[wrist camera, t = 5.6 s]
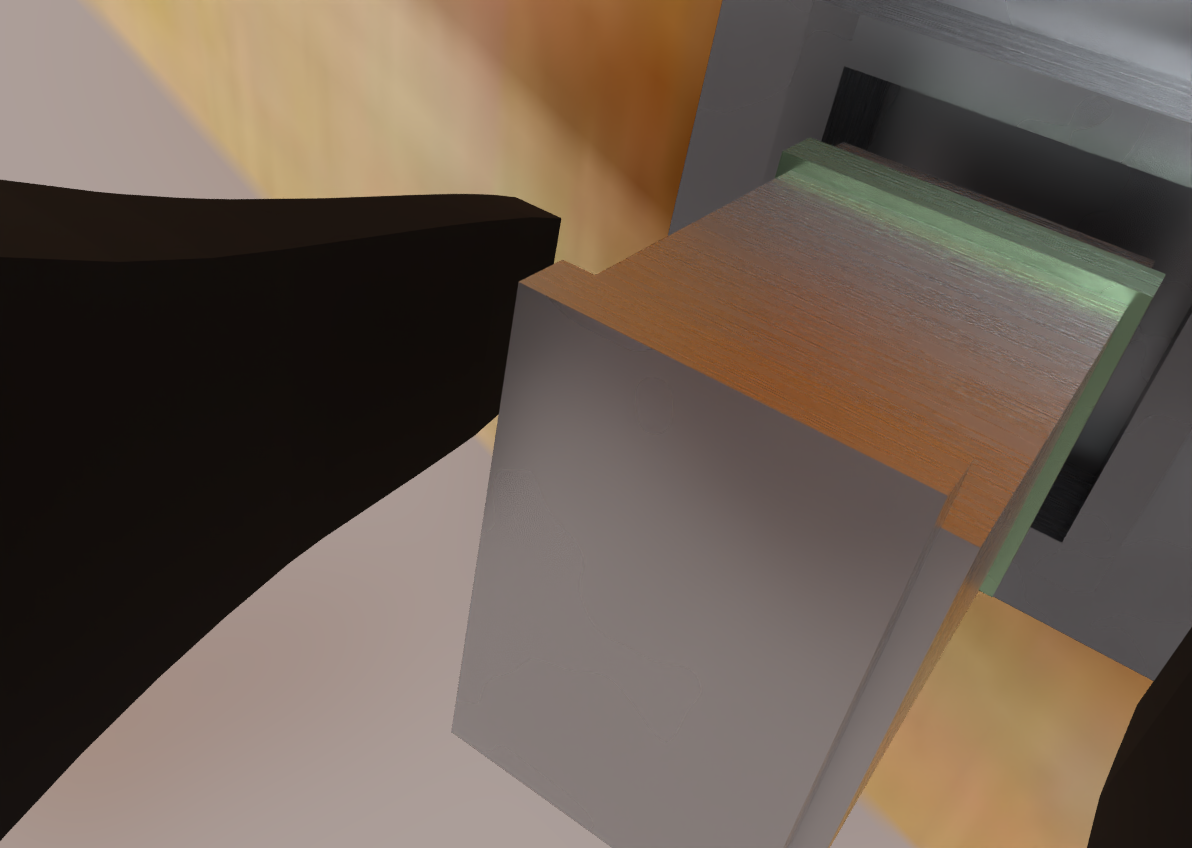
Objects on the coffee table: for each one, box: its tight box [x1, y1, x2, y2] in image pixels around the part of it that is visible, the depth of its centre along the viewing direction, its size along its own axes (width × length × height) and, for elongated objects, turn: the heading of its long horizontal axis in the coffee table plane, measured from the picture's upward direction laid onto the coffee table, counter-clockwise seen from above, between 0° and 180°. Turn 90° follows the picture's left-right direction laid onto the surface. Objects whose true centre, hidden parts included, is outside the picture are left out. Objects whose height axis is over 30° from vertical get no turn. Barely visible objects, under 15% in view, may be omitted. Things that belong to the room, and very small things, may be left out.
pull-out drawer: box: [452, 137, 1166, 848], centre depth 10 cm, size 4×5×6 cm
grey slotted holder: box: [668, 0, 1192, 681], centre depth 13 cm, size 10×10×5 cm
